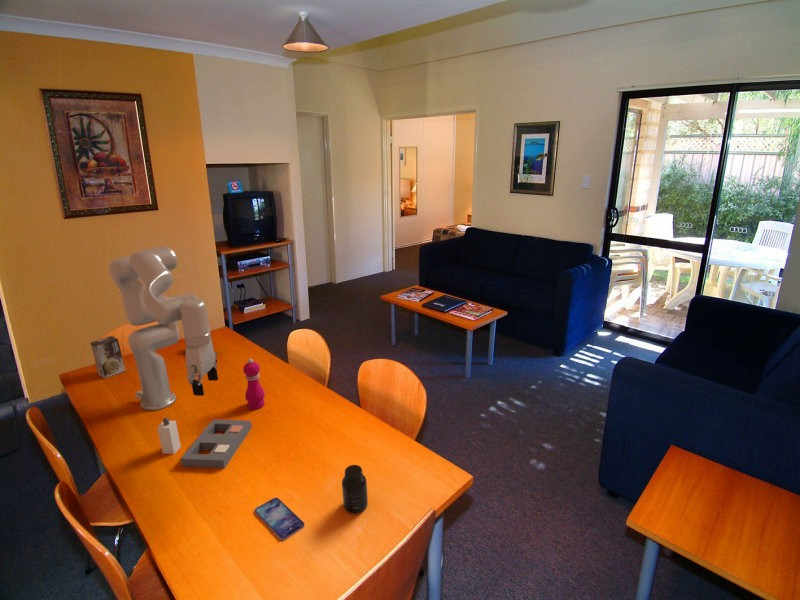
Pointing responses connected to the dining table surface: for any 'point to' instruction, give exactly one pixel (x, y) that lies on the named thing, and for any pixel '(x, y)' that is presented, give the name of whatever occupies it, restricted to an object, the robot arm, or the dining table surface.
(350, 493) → the supplement bottle
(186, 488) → the dining table surface
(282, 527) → the smartphone
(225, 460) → the socket board
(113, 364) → the coffee box
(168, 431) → the plug
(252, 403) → the pepper mill
